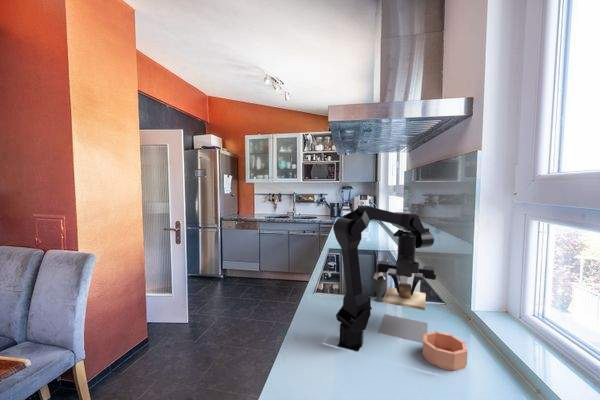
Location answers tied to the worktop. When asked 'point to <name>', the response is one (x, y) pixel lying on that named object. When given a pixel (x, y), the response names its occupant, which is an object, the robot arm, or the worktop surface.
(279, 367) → the worktop surface
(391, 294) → the lid
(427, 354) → the bowl
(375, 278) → the sundae
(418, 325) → the mat
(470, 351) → the worktop surface
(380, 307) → the worktop surface
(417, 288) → the skincare box
